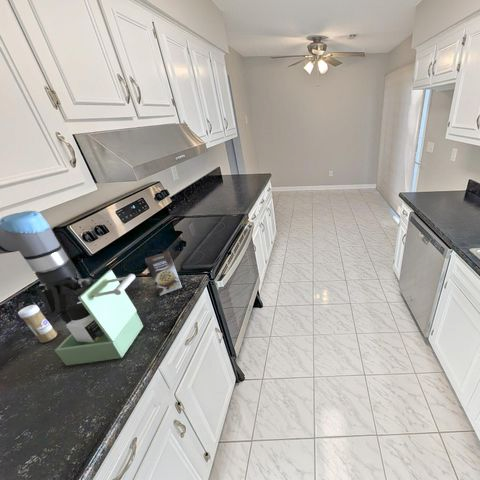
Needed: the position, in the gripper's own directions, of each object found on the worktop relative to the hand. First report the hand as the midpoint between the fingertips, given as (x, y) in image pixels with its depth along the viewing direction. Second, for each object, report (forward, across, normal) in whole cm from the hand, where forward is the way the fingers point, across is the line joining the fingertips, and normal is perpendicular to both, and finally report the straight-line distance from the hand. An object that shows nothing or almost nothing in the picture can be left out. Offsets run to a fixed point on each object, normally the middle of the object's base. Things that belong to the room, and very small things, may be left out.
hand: (90, 325), depth 81 cm
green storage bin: (+9, -1, 0) cm, 9 cm away
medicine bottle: (+4, 0, 0) cm, 4 cm away
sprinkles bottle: (+9, +23, -7) cm, 25 cm away
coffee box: (+9, -10, -29) cm, 32 cm away
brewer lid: (-7, -9, 0) cm, 11 cm away
